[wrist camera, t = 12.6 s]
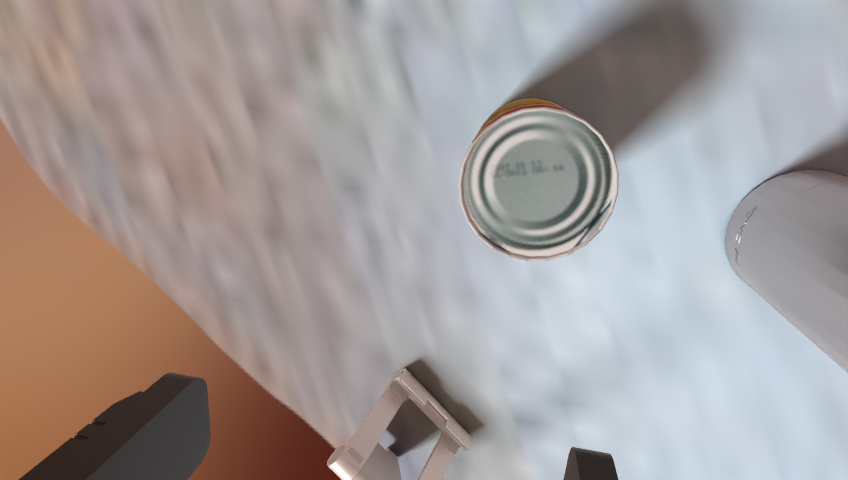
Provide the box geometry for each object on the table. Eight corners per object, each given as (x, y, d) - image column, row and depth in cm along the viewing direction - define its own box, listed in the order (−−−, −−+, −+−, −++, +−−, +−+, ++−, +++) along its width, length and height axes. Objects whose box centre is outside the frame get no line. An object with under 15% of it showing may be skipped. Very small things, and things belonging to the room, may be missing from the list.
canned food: (452, 152, 37) (426, 185, 26) (532, 73, 34) (543, 71, 23) (524, 227, 38) (530, 290, 27) (608, 154, 35) (654, 190, 24)
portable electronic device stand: (472, 432, 44) (464, 507, 37) (409, 471, 47) (389, 550, 39) (408, 364, 43) (385, 427, 36) (347, 409, 46) (313, 477, 38)
